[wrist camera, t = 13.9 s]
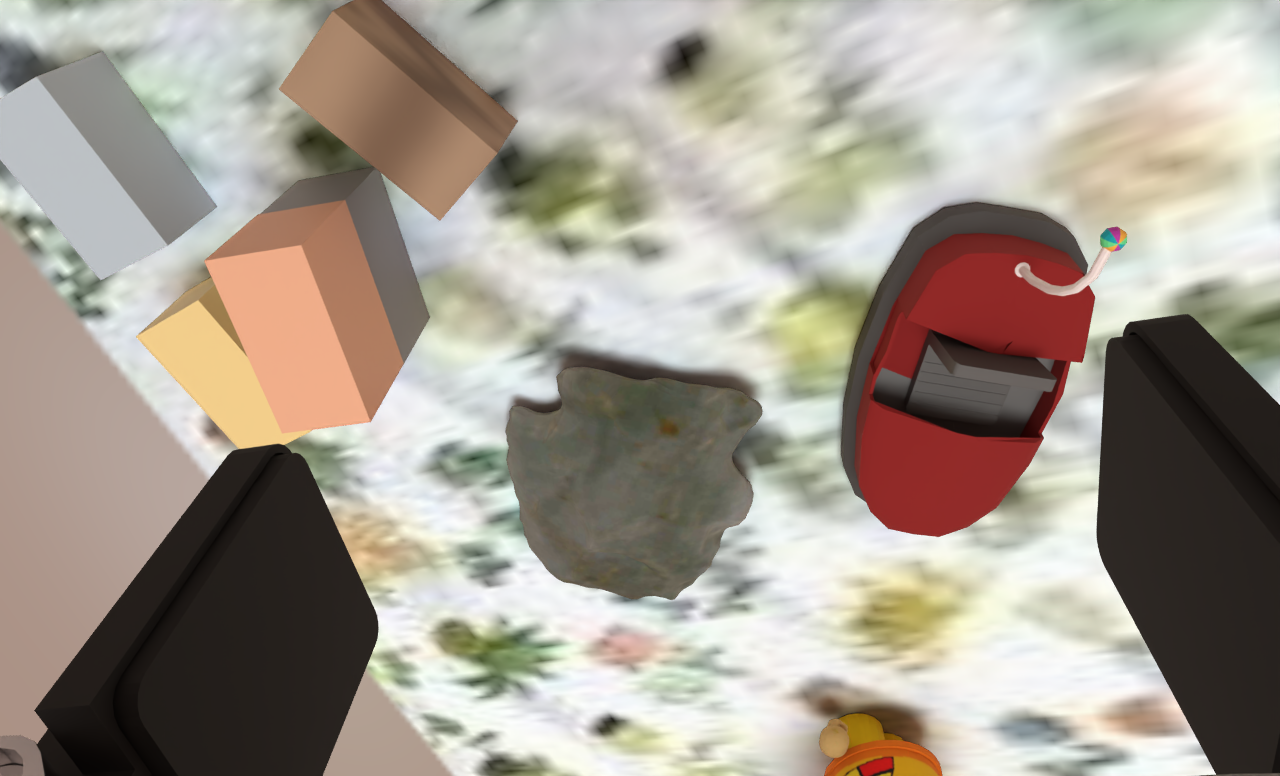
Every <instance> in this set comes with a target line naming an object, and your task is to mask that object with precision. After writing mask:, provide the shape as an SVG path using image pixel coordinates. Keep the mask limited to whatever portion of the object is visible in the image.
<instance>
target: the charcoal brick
mask: <svg viewBox="0 0 1280 776" xmlns="http://www.w3.org/2000/svg"><path fill="white" fill-rule="evenodd" d="M342 200H345V201H346V204H347V206H348V209H349V212H350V215H351V217H352V220H353V223H354V226H355V229H356V231H357V234H358V237H359V240H360V243H361V245H362V248H363V251H364V254H365V257H366V259H367V262H368V265H369V268H370V271H371V273H372V276H373V279H374V282H375V285H376V287H377V290H378V293H379V296H380V299H381V301H382V304H383V307H384V310H385V312H386V315H387V318H388V321H389V324H390V326H391V329H392V332H393V335H394V338H395V340H396V343H397V346H398V349H399V352H400V354H401V357H402V360H403V363H405V361H406V359H407V357H408V356H409V354H410V352H411V350H412V348H413V347H414V345H415V343H416V341H417V340H418V338H419V336H420V334H421V332H422V331H423V329H424V327H425V325H426V324H427V322H428V320H429V318H430V316H429V314H428V311H427V308H426V305H425V302H424V299H423V296H422V293H421V290H420V287H419V284H418V281H417V278H416V276H415V273H414V270H413V267H412V264H411V261H410V258H409V255H408V252H407V249H406V246H405V243H404V240H403V238H402V235H401V232H400V229H399V226H398V223H397V220H396V217H395V214H394V211H393V208H392V205H391V202H390V200H389V197H388V194H387V191H386V188H385V185H384V182H383V179H382V176H381V173H380V171H378V170H377V169H376V168H375V167H370V168H364V169H359V170H353V171H348V172H342V173H337V174H331V175H326V176H320V177H315V178H309V179H304V180H299V181H298V182H296V183H295V184H294V185H293V186H292V187H291V188H290V189H288V190H287V191H286V192H285V193H284V194H283V195H281V196H280V197H279V198H278V199H277V200H276V201H275V202H273V203H272V204H271V205H270V206H269V207H268V208H267V209H265V210H264V211H263V212H262V213H261V214H264V213H270V212H276V211H282V210H288V209H294V208H300V207H306V206H312V205H318V204H324V203H330V202H336V201H342Z"/></svg>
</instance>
